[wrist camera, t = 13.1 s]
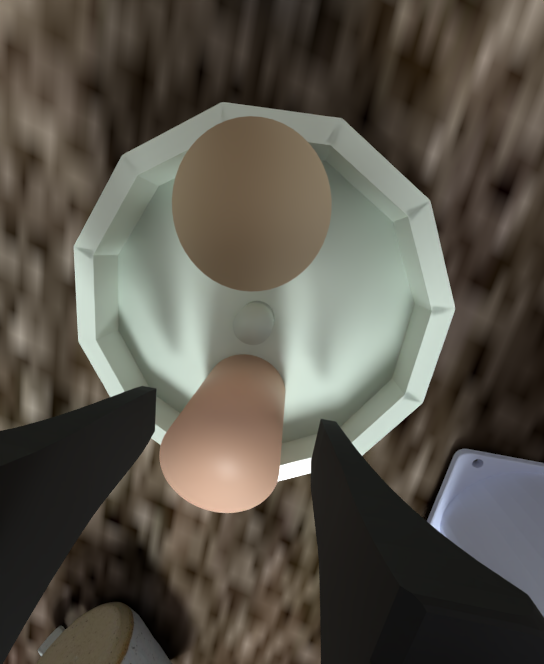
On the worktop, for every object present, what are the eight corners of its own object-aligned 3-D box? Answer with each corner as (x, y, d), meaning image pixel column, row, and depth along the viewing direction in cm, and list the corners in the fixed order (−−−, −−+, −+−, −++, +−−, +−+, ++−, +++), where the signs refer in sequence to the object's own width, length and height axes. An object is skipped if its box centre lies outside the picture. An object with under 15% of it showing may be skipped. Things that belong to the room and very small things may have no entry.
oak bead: (325, 184, 11) (348, 129, 6) (307, 284, 12) (314, 303, 7) (228, 170, 11) (176, 105, 6) (218, 269, 12) (168, 278, 7)
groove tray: (471, 163, 11) (513, 141, 9) (374, 469, 15) (387, 504, 13) (108, 112, 11) (65, 80, 9) (112, 419, 16) (83, 445, 14)
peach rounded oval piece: (291, 362, 13) (289, 423, 8) (278, 432, 14) (269, 522, 9) (210, 347, 13) (161, 399, 8) (203, 418, 14) (157, 500, 10)
